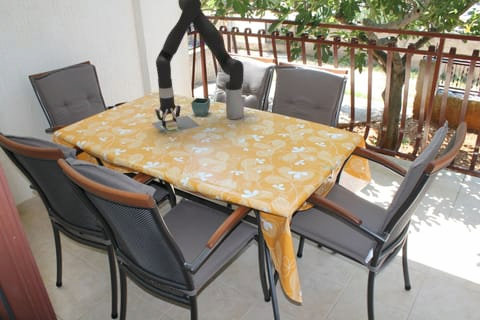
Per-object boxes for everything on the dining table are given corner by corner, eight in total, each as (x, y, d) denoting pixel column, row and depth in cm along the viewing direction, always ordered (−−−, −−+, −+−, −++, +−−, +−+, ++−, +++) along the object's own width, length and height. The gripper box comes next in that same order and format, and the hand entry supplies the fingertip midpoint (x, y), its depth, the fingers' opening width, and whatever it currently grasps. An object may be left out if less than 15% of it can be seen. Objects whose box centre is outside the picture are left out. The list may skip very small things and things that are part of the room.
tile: (177, 128, 216) (177, 123, 214) (168, 130, 213) (168, 125, 212) (170, 122, 223) (170, 117, 222) (162, 124, 221) (161, 119, 220)
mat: (187, 116, 237) (187, 115, 236) (201, 126, 222) (201, 125, 222) (151, 124, 227) (150, 122, 227) (163, 135, 212) (162, 134, 212)
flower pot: (191, 117, 236) (190, 102, 232) (197, 112, 243) (196, 97, 239) (205, 118, 233) (204, 103, 229) (211, 113, 241) (210, 98, 237)
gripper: (155, 99, 204) (159, 130, 212) (182, 94, 211) (184, 125, 218) (150, 95, 210) (154, 126, 218) (176, 91, 217) (179, 120, 224)
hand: (169, 125), depth 218 cm, fingers closed on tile, 5 cm apart
